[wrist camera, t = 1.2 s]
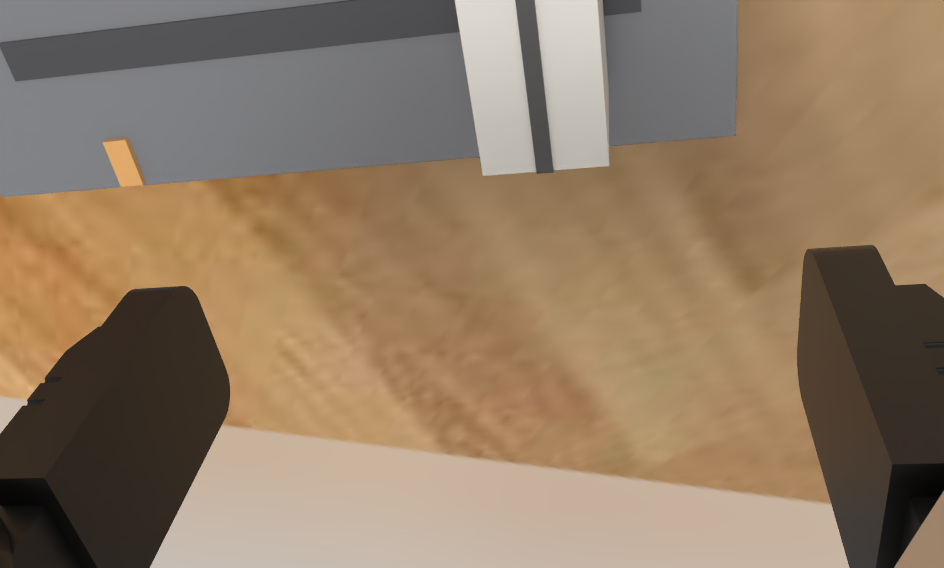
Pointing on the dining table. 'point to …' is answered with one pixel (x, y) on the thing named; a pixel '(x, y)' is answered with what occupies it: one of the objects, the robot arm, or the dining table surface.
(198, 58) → the slider board
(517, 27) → the block
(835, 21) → the dining table surface
